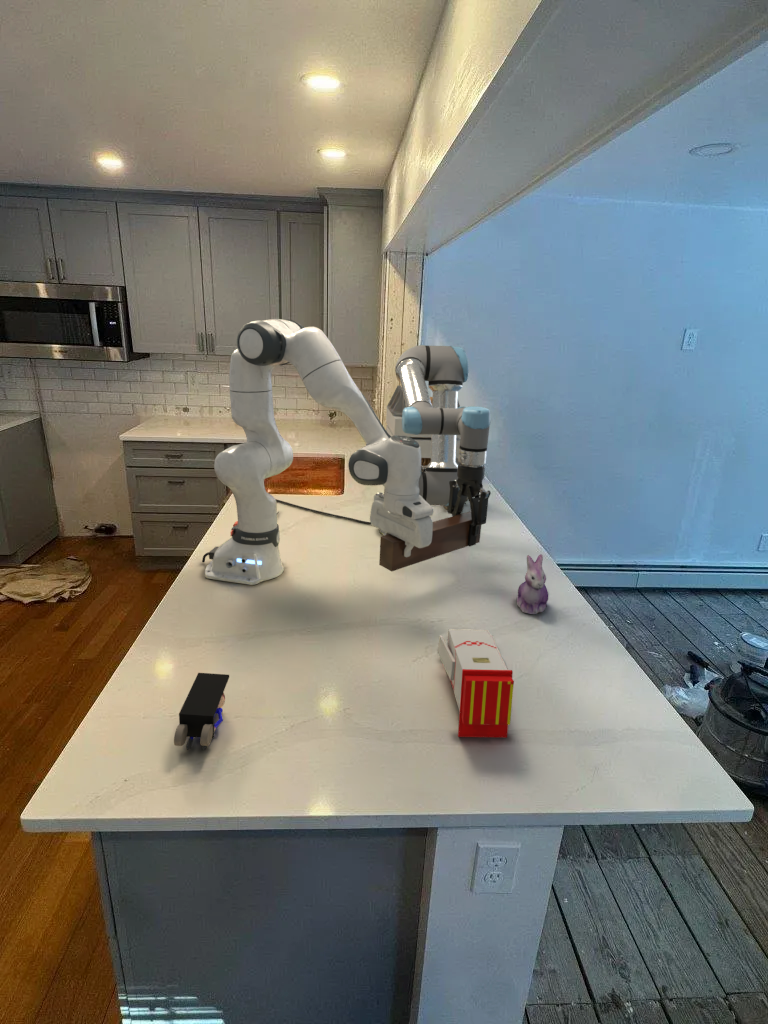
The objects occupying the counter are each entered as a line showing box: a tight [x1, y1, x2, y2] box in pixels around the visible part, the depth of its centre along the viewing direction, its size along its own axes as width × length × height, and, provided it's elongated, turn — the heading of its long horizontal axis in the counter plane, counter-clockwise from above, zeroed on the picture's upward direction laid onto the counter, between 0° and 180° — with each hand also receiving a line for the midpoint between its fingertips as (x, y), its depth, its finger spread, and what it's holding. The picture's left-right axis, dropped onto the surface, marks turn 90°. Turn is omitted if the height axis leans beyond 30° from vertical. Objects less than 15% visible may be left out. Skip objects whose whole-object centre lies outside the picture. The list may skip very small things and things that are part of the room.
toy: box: [437, 628, 515, 738], centre depth 117 cm, size 12×13×30 cm
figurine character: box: [173, 672, 230, 751], centre depth 104 cm, size 7×8×15 cm
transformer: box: [385, 384, 461, 467], centre depth 268 cm, size 34×33×41 cm
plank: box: [378, 511, 482, 572], centre depth 155 cm, size 5×34×8 cm, turn 131°
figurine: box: [516, 553, 549, 615], centre depth 151 cm, size 9×10×15 cm
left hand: (397, 551), depth 147 cm, fingers closed on plank, 5 cm apart
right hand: (464, 541), depth 164 cm, fingers closed on plank, 5 cm apart
